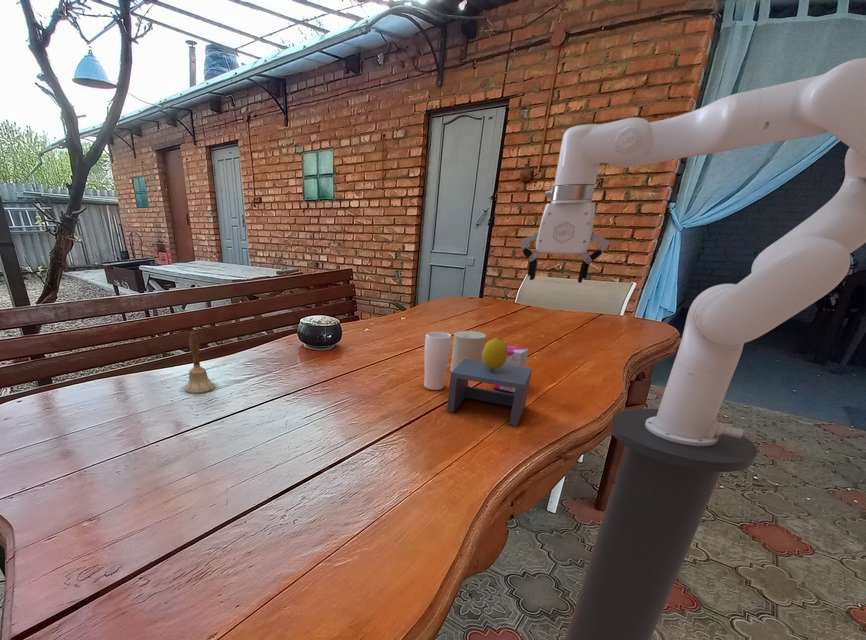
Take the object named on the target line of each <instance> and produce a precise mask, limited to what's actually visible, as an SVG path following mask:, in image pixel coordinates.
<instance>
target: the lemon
mask: <svg viewBox="0 0 866 640" xmlns="http://www.w3.org/2000/svg"><path fill="white" fill-rule="evenodd" d="M507 346H508V345H507V343H506V342H505V341H504V340H503V339H501V338H500V337H494V338H491V339H489V340H488V341H487V342H485V344H484V348H483V352H482V361H483V363H484V364H485V365H486V366H487V367H489V368H490V370H492V371H493V370H495V369H496V368H499V367H501V366H502V365H503V364H504V363H505V362H506V359H507V355H508V350H507Z"/></svg>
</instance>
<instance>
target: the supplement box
mask: <svg viewBox="0 0 866 640" xmlns="http://www.w3.org/2000/svg"><path fill="white" fill-rule="evenodd" d="M507 350H508V355H507V359H506V362H505V363H504V364H503V365H510V366H516V367H523V368H527V361H528V355H529V348H525V347H519V346H513V345H507ZM515 389H516V388H512V387H506V386H500V385H494V386H493V391H498V392H504V393H509V394H515Z"/></svg>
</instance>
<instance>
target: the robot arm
mask: <svg viewBox="0 0 866 640" xmlns="http://www.w3.org/2000/svg"><path fill="white" fill-rule="evenodd" d="M827 133H829V134H831V135H832V136H833V137H835V138H836V139H837V140H838V141H840V142H842V143H843V144H845V145H846V146H848V149H847V151H846V154H845V157H844V172H845V174H844V179H843V182H842V185H841V186H840V188H839V190H838V191H837V192H836V194H835V195H834V196H833V197H832V198H831V199H830V200H828V201H827V202H826V203H825V204H823V206H821V207H820V208H819V209H817V210H816V211H815V212H814V213H813V214H812V215H810V216H809V217H808V218H806V219H804V220H803V221H802V222H800V223H799V224H798V225H797V226H795V227H794V228H793V229H792V230H790V231H788V232H787V233H786V234H784V235H783V236H781V237H780V238H779V239H777V240H776V241H774V242H773V243H771V244H770V245H768V246H767V247H766V248H764V249H763V250H762V251H761V252H759V254H758V255H757V256H756V258H754V260H753V262H752V265H751V272H750V273H749V275H747V276H745V277H744V278H743V279H741V280H740V281H739V282H737V283H721V284H717V285H713V286H710V287H708V288H706V289H704V291H702V292H700V293H699V294H698V295H697V296H696V297H695V298H694V299H693V301H692V302H691V305H690V306H689V309H688V312H687V314H686V318H685V319H686V320H685V324H684V327H683V328H684V329H683V332H682V336H681V340H680V343H679V347H678V349H677V353H676V356H675V358H674V362H673V364H672V368H671V369H670V374H669V377H668V380H667V383H666V386H665V389H664V392H663V395H662V398H661V401H660V404H659V407H658V409H657V410H658V413H657V416H655V417H651V418H648V419H647V420H646V422H645V427H646V429H647V430H648V431H649V432H651V433H652V434H654V435H656V436H658V437H660V438H663V439H665V440H668V441H671V442H675V443H679V444H683V445H689V446H711V445H714V444H716V443H717V441H718V438H719V437H718V436H720V435H721V434H722V435H728V436H730V437H736V438H741V437H742V435H743V436H744V429H743V428H738V427H734V426H733V424H731V423H727V422H719V421H718V419H717V416H718V414H719V412H720V409H721V407H722V404H723V402H724V399H725V396H726V394H727V390H728V389H729V386H730V383H731V381H732V378H733V377H734V373H735V371H736V369H737V366H738V364H739V361H740V358H741V355H742V352H743V349H744V345H745V344H747V343H749V342H752V341H753V340H756V339H758V338H760V337H761V336H762V337H763V336H764V335H766V334H767V333H768V332H770V331H772V330H773V329H776V327H778V326H779V325H781V324H783V323H784V322H786V321H788V320H789V319H790V318H792V317H794V316H795V315H797V314H799V313H800V312H801V311H804V310H805V309H807V308H808V307H809V306H811V305H813V304H814V303H816V302H817V301H818V300H821V299H822V298H823V297H825V296H827V295H828V294H829V293H830V292H832V291H833V290H834V289H836V288H837V286H838V285H840V283H841V282H842V281H844V279H845V277H846V276H847V274H848V273H849V271H850V267H851V255H850V254H852V253H853V252H854V251H857V250H858V249H859V248H860V247H861V246H863V245H864V244H866V57H861V58H860V57H859V58H854V59H851V60H847V61H845V62H843V63H841V64H838V65H837V66H835V67H833V68H832V69H830V70H828V71H827V72H825V73H823V74H820V75H815V76H814V75H813V76H810V77H806V78H801V79H797V80H792V81H789V82H784V83H780V84H779V83H778V84H775V85H770V86H766V87H761V88H756V89H751V90H747V91H741V92H737V93H733V94H731V95H727V96H725V97H721V98H719V99H716V100H714V101H712V102H710V103H708V104H707V105H705V106H702V107H700V108H697V109H694V110H693V111H690V112H686V113H683V114H680V115H677V116H674V117H669V118H665V119H660V120H655V121H651V122H649V121H648V120H647V119H645V118H643V117H642V118H641V117H638V116H637V117H636V116H635V117H627V118H623V119H618V120H613V121H610V122H607V123H606V122H605V123H601V124H598V123H588V124H587V123H586V124H579V125H574V126H571V127H569V128H567V130H565V132H564V134H563V135H562V139H561V145H560V150H559V156H558V160H557V166H556V171H555V178H554V183H553V187H552V188H551V189H549V190H545V192H544V198H548V199H549V200H550V203H546V205H545V207H544V210H543V213H542V216H541V220H540V224H539V227H538V231H537V232H535V233H533V234H530V235H529V236H526V237H524V238H522V239H520V241H519V245H520V248H521V250H522V253H523V255H524V256H525V257H526V258H527V259H528V261H529V263H528V270H527V277H529V281H533V280H534V279H535V278H536V273H537V268H538V258H539V257H540V256H541V255H542V254H555V255H558V254H560V255H579V256H580V257H581V258H582V260H583V261H582V263H581V265H580V270H579V274H578V278H577V283H578V284H582V282H583V279H584V280H586V279H587V277H588V272H589V268H590V264H591V263H592V262H593V261H595V260H596V259H598V258H599V257H600V256H601V255H602V254H603V253H604V252H605V250H606V249H607V248H608V246H610V243H611V242H610V241H609V240H608V239H606V238H604V237H603V236H601V235H599V234H598V233H595V232H594V231H593V229H594V222H595V215H596V202H592V201H593V195H594V191H595V187H596V181H597V178H598V174H599V170H600V169H599V168H600V165H601V164H608V165H609V166H611V167H612V168H616V169H626V168H635V167H639V166H640V167H641V166H644V165H650V164H651V165H652V164H656V163H662V162H669V161H674V160H679V159H684V158H690V157H700V156H708V155H712V154H717V153H723V152H728V151H734V150H739V149H744V148H751V147H756V146H762V145H767V144H773V143H780V142H787V141H793V140H799V139H804V138H810V137H815V136H821V135H823V134H827ZM533 241H536V242H535V251H534V252H533V251H531V249H530V248H529V243H531V242H533ZM591 241H593V242H595V243H596V244H598V245H599V246H598V247H597V249H596V250H595V251H593V252H592V253H591V254H590V253H589V251H588V249H589V247H590V243H591Z"/></svg>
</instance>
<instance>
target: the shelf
mask: <svg viewBox="0 0 866 640" xmlns="http://www.w3.org/2000/svg"><path fill="white" fill-rule="evenodd" d="M532 372H533V368H528V367H526V368H523V367H516V366H510V365H502V366H501V367H499V368H496V369H495V370H493V371H492V370H490V368H489V367H487V366H486V365H485V364H484V363H483V360H482V361H476V360H469V359H464V360H463V361H462V362H461V363H460V364H459V365H458V366H457V367H456V368H455V369H454V370H453V371H452V372H451V371H450V379H449V387H448V397H447V405H446V406H447V407H446V412H447V413H451V414H453V413H455V411H456V410H457V409H458V407H459V406H460V405H461V404H462V403H463V402H464V400H465V399H470V400H475V401H481V402H485V403H491V404H495V405H501V406H507V407H511V411H510V417H509V422H508V425H509V426H513V427H517V426H518V424H519V422H520V420H521V417H522V416H523V413H524V411H525V409H526V405H527V404H526V403H527V399H528V393H529V388H530V383H531V377H532ZM469 381H471V382H478V383H483V384H489V385H494V386H495V385H500V386H506V387H512V388H516V389H515V394H511V393H507V392H503V391H499V390H492V389H487V388H481V387H476V386H470V385H469Z"/></svg>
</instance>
